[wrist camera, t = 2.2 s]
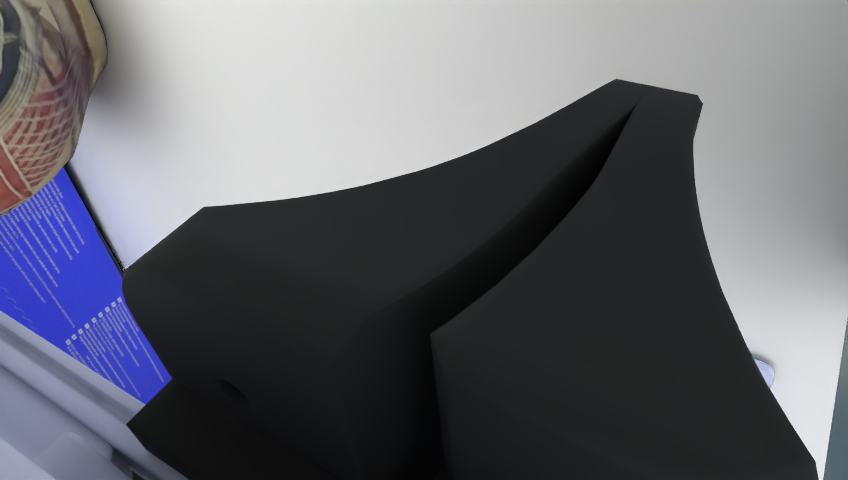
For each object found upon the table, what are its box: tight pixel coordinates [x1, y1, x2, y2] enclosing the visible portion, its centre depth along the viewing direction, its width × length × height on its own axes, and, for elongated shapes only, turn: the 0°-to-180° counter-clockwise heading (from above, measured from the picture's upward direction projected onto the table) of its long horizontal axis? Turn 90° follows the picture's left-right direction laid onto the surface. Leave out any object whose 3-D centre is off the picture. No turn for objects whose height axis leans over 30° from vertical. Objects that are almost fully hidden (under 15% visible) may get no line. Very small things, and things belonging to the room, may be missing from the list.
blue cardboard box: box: [0, 167, 172, 405], centre depth 51 cm, size 39×8×18 cm, turn 178°
